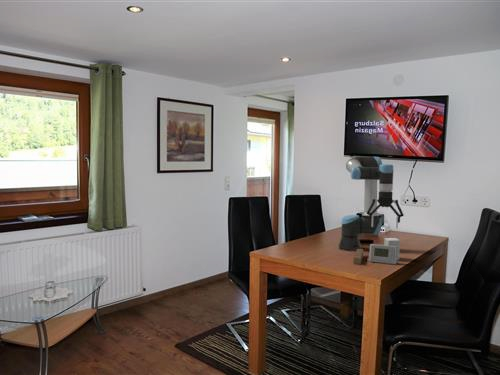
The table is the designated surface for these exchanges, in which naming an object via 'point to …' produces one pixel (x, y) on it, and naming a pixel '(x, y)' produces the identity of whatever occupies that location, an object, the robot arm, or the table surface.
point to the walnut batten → (358, 256)
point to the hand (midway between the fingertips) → (384, 227)
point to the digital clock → (383, 254)
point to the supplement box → (393, 244)
